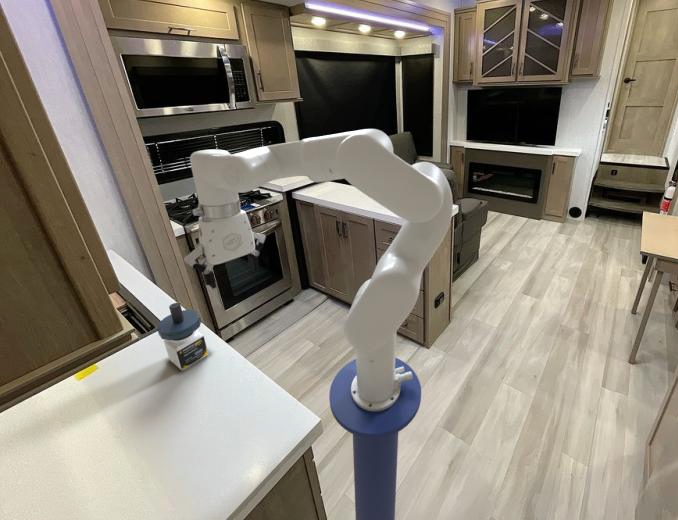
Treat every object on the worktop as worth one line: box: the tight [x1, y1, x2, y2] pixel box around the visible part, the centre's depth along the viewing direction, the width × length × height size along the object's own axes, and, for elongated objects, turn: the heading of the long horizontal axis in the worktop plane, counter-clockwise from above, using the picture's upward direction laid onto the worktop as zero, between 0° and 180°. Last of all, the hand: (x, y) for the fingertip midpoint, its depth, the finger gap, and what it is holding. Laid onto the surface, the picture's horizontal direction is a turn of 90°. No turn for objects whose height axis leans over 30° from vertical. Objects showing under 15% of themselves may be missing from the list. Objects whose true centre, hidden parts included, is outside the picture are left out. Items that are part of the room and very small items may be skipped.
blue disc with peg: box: [156, 302, 202, 340], centre depth 85 cm, size 9×9×7 cm
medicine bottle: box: [163, 329, 209, 371], centre depth 88 cm, size 7×7×12 cm
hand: (233, 277), depth 74 cm, fingers open, 9 cm apart
